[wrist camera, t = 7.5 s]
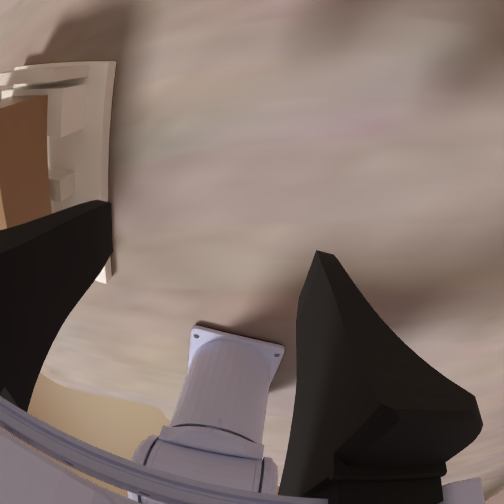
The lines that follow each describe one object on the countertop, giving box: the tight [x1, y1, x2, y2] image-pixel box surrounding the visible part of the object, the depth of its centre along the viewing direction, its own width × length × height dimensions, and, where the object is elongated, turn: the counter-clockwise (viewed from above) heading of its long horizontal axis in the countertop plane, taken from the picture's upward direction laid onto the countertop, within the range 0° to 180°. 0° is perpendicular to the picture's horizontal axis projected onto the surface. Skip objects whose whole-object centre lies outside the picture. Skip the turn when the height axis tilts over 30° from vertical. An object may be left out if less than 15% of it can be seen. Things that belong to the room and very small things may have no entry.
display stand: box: [0, 61, 117, 284], centre depth 19 cm, size 17×9×4 cm, turn 169°
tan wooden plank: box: [0, 95, 52, 230], centre depth 16 cm, size 13×4×4 cm, turn 169°
